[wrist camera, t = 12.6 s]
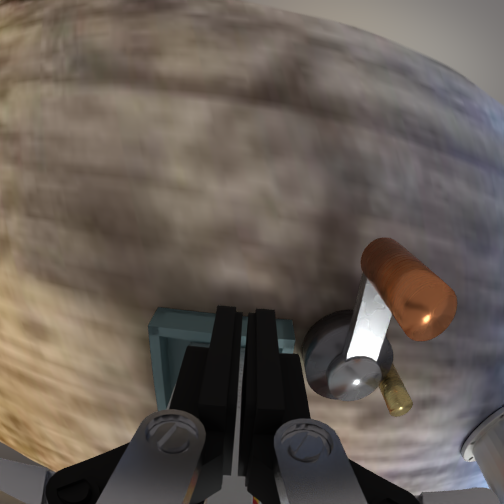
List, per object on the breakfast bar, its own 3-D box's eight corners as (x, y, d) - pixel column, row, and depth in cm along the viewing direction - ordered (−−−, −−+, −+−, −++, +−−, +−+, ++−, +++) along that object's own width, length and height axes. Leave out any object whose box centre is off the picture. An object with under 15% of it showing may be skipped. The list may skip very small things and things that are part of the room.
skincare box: (252, 412, 28) (247, 556, 14) (188, 406, 28) (156, 544, 14) (261, 342, 25) (260, 516, 11) (185, 335, 25) (132, 498, 11)
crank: (368, 388, 23) (392, 455, 17) (321, 389, 23) (335, 460, 17) (413, 240, 19) (472, 285, 12) (357, 233, 19) (403, 281, 12)
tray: (292, 319, 25) (295, 340, 22) (272, 423, 29) (273, 444, 26) (158, 307, 25) (148, 325, 22) (167, 412, 29) (161, 432, 26)
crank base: (411, 311, 25) (439, 348, 19) (388, 375, 27) (406, 416, 22) (309, 307, 25) (321, 349, 19) (295, 376, 27) (301, 421, 22)
